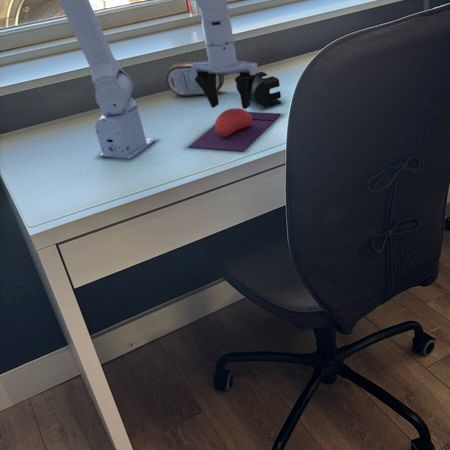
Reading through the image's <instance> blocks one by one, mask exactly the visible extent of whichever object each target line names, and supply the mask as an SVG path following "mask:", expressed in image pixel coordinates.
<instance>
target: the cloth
mask: <svg viewBox="0 0 450 450" xmlns="http://www.w3.org/2000/svg"><path fill="white" fill-rule="evenodd" d="M247 112H248V113H250V115H251V116H252V123H251V125H250V126H248V127H246V128H243V129H240V130H237V131H235V132H234V133H232V134H231V135H229V136H227V137H221V136H219V135H218V134H217V133H216V130H215V124H214V125H212V126H211V128H209V129H207V131H205V133H203V134H202V135H200V136H199V137H198V138H197V139H196V140H195V141H193V142H192V143H191V144H190V145H189V146H188V149H200V150H201V149H202V150H214V151H215V150H216V151H227V152H241V153H244V152H245V151H246V150H247V149H248V148H249V147H250V146H251V145H252V144H253V143H254V142H255V141H256V140H257V139H259V137H260V136H261V135H263V133H265V132H266V130H267V129H269V127H271V125H272V124H274V123H275V122H276V121H277V120H278V119H279V118H280V117H281V116H282V113H278V112H257V111H247Z"/></svg>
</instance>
